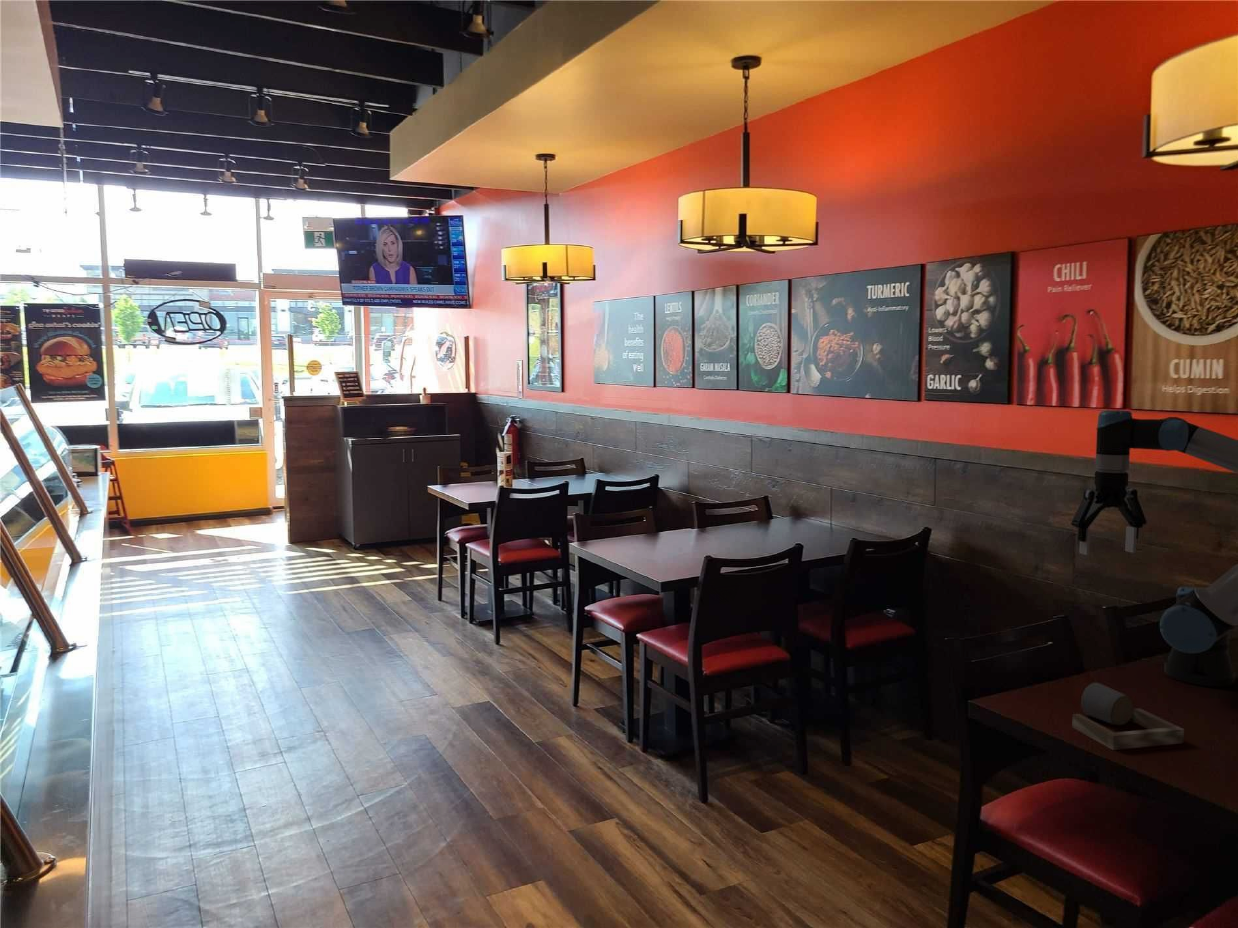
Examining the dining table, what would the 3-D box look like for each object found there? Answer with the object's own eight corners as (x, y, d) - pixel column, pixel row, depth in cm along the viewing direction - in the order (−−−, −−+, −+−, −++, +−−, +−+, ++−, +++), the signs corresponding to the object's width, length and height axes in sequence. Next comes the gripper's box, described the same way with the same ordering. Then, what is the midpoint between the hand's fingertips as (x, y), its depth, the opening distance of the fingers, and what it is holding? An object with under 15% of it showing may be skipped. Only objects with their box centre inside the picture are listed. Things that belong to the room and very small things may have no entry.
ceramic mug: (1112, 730, 191) (1115, 695, 190) (1079, 716, 198) (1081, 684, 197) (1144, 722, 195) (1146, 689, 194) (1110, 710, 202) (1112, 678, 202)
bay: (1138, 721, 195) (1139, 708, 195) (1183, 742, 184) (1184, 729, 183) (1072, 727, 192) (1072, 714, 192) (1112, 749, 180) (1113, 735, 180)
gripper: (1142, 468, 229) (1137, 548, 231) (1058, 470, 224) (1054, 552, 226) (1165, 471, 221) (1160, 553, 223) (1079, 473, 216) (1075, 557, 219)
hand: (1107, 553), depth 225 cm, fingers open, 13 cm apart
